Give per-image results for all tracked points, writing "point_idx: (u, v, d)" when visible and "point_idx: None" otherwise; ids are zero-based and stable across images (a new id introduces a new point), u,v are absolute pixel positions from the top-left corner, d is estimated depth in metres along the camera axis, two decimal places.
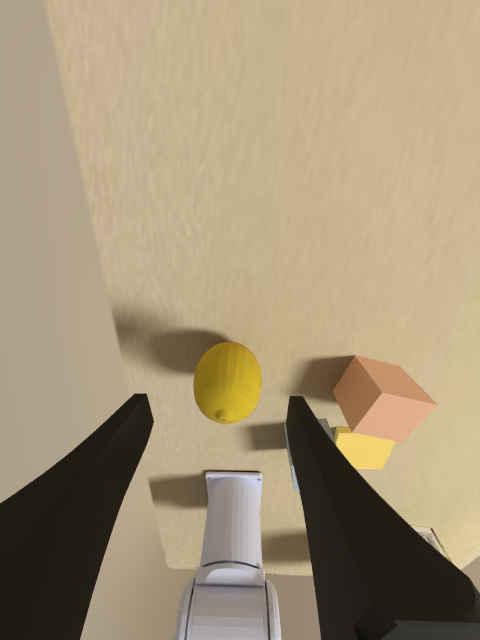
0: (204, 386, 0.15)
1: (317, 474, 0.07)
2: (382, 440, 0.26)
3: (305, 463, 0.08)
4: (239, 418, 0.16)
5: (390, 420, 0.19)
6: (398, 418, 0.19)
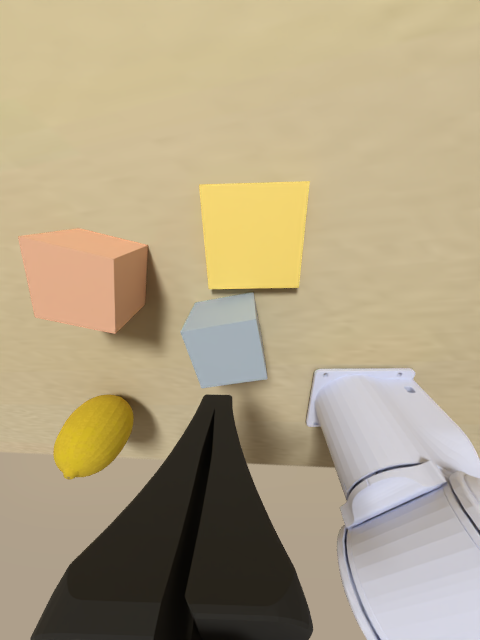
0: None
1: None
2: (218, 212, 0.15)
3: None
4: (75, 461, 0.17)
5: (74, 292, 0.13)
6: (66, 282, 0.13)
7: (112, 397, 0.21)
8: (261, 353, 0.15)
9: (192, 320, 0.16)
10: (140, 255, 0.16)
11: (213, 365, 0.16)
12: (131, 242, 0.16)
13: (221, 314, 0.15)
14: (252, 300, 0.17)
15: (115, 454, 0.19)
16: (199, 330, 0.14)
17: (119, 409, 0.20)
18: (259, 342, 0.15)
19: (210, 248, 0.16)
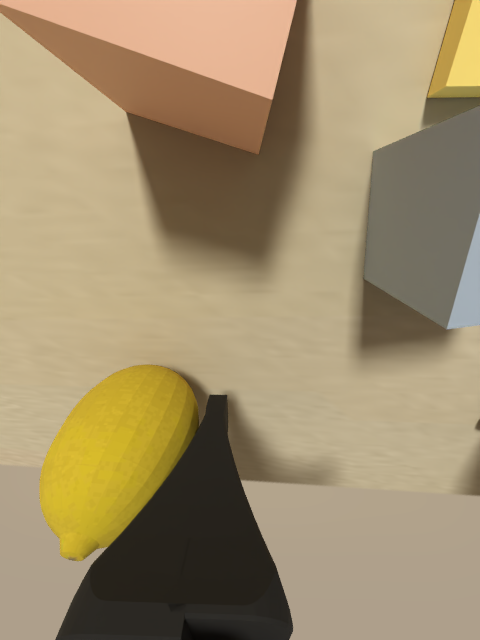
0: None
1: None
2: None
3: None
4: (92, 518, 0.07)
5: None
6: None
7: (163, 369, 0.11)
8: None
9: None
10: None
11: None
12: None
13: None
14: None
15: None
16: None
17: (180, 392, 0.10)
18: None
19: None
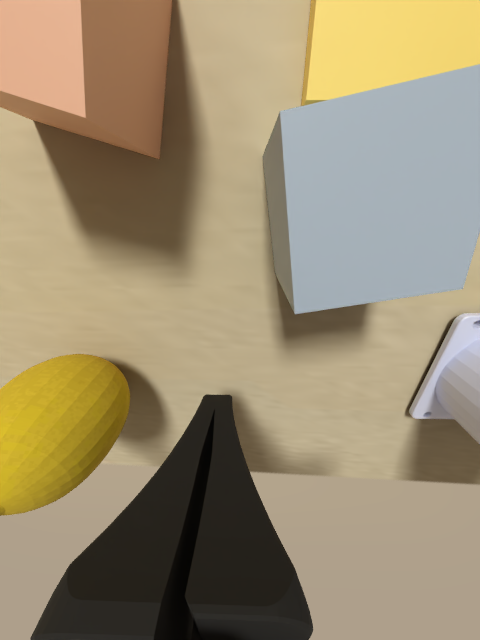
0: None
1: None
2: None
3: None
4: None
5: None
6: None
7: (92, 357, 0.12)
8: None
9: None
10: None
11: (343, 244, 0.06)
12: None
13: None
14: None
15: (92, 464, 0.10)
16: (338, 105, 0.05)
17: (104, 377, 0.11)
18: None
19: None
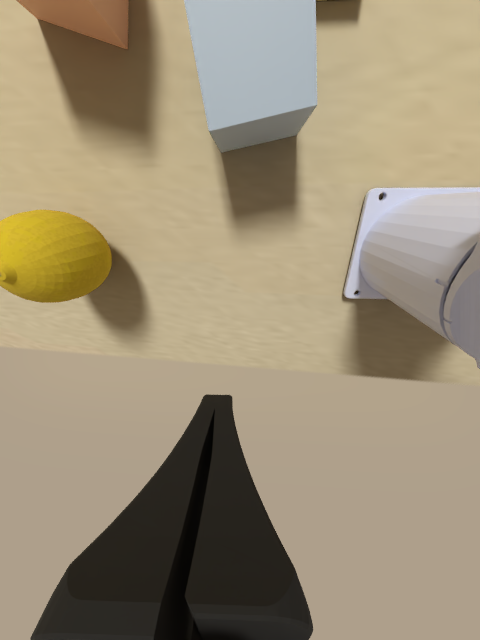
0: None
1: None
2: None
3: None
4: (10, 251, 0.11)
5: None
6: None
7: None
8: (313, 29, 0.09)
9: None
10: None
11: (231, 66, 0.09)
12: None
13: None
14: None
15: (79, 275, 0.13)
16: None
17: (89, 227, 0.14)
18: None
19: None
